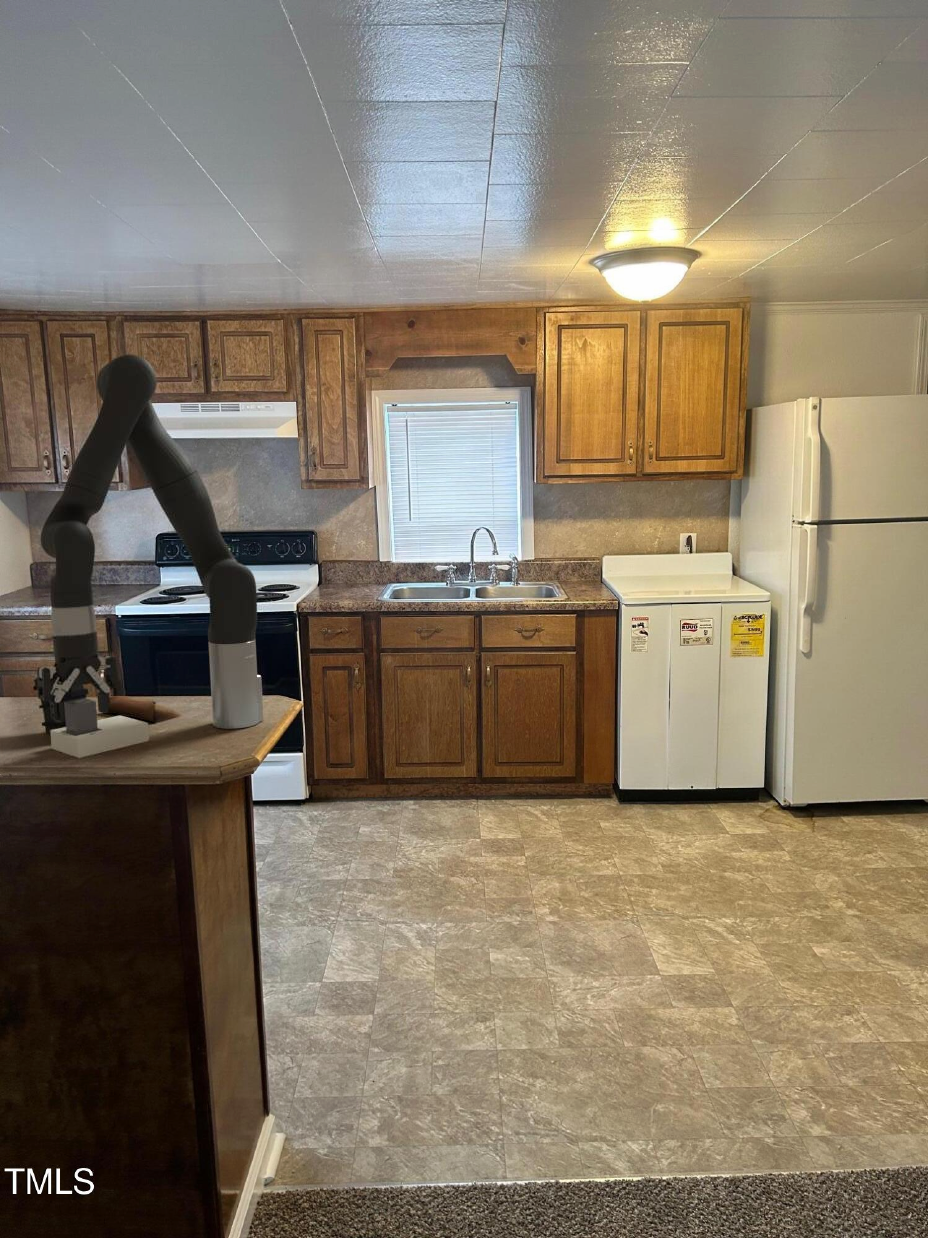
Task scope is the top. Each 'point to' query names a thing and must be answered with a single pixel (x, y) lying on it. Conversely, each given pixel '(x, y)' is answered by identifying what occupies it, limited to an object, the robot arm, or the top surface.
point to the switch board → (101, 737)
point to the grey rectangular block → (80, 716)
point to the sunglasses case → (141, 709)
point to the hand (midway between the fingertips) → (81, 717)
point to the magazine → (70, 695)
